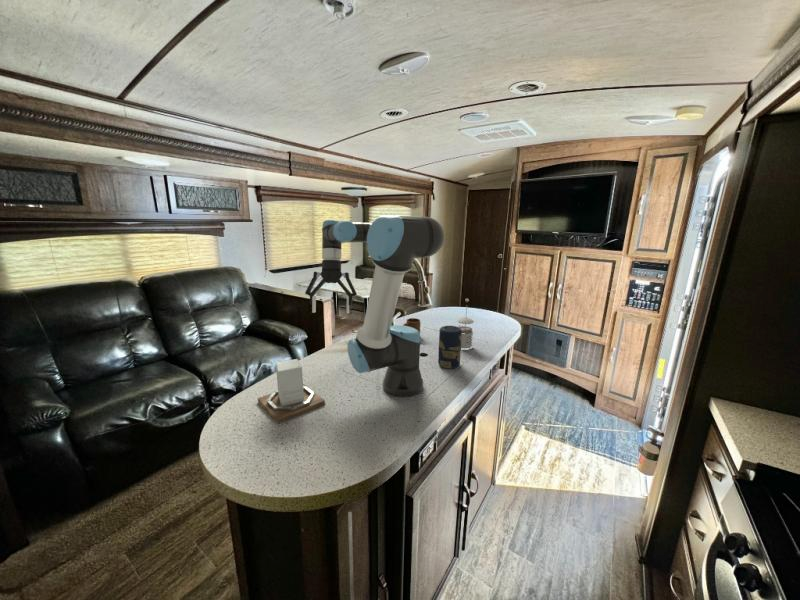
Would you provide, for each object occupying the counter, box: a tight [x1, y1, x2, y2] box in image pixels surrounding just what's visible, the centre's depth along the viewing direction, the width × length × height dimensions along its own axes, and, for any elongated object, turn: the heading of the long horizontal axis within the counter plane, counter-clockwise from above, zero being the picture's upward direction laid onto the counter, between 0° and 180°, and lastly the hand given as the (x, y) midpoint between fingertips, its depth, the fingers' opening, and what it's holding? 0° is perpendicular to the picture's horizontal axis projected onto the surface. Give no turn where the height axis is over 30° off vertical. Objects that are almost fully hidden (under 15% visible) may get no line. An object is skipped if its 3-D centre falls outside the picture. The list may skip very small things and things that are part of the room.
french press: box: [457, 298, 475, 348], centre depth 156 cm, size 10×12×25 cm
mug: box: [402, 317, 421, 334], centre depth 170 cm, size 12×8×9 cm, turn 138°
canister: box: [437, 325, 463, 369], centre depth 136 cm, size 10×10×18 cm
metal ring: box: [267, 385, 315, 412], centre depth 106 cm, size 14×14×1 cm
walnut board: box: [257, 383, 326, 424], centre depth 107 cm, size 16×16×2 cm
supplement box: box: [275, 358, 304, 407], centre depth 105 cm, size 7×7×13 cm
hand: (330, 312), depth 128 cm, fingers open, 13 cm apart
